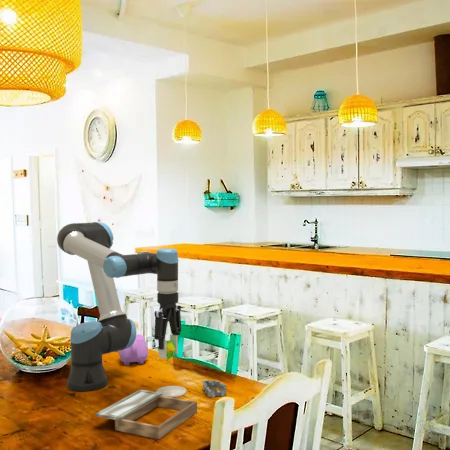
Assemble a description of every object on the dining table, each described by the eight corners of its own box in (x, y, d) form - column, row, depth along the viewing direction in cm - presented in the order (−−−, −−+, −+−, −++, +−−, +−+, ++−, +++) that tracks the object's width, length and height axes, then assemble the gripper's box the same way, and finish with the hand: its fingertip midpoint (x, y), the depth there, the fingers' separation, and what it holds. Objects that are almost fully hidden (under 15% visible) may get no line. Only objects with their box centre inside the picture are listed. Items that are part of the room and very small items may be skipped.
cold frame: (95, 427, 170) (95, 413, 170) (140, 401, 192) (140, 389, 192) (158, 440, 160) (158, 425, 160) (197, 411, 182) (197, 398, 182)
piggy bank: (150, 367, 233) (149, 337, 232) (120, 369, 230) (119, 339, 229) (145, 354, 252) (145, 327, 252) (118, 356, 249) (117, 329, 249)
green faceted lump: (161, 334, 200) (172, 339, 192) (173, 343, 203) (185, 349, 195) (150, 351, 198) (161, 357, 190) (162, 360, 201) (173, 366, 193)
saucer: (150, 394, 199) (150, 393, 198) (166, 385, 208) (166, 384, 208) (176, 399, 194) (176, 397, 194) (191, 389, 204) (191, 388, 204)
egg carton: (227, 397, 196) (227, 385, 196) (206, 399, 195) (206, 387, 194) (221, 387, 207) (221, 376, 206) (201, 388, 205) (201, 378, 205)
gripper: (160, 297, 186) (161, 364, 187) (190, 288, 203) (191, 349, 204) (143, 295, 190) (143, 361, 191) (173, 287, 207) (174, 347, 208)
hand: (168, 355), depth 197 cm, fingers closed on green faceted lump, 6 cm apart
